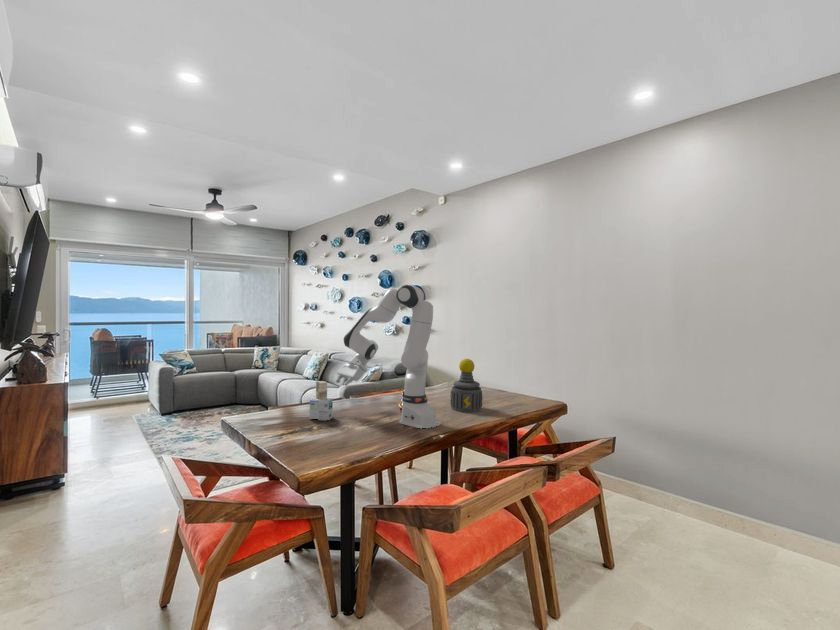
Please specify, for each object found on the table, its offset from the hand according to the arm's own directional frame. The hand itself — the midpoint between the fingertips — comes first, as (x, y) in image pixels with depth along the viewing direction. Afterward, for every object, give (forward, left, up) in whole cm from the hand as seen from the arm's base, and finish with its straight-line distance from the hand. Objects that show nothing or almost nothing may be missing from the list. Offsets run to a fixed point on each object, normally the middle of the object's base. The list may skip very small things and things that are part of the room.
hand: (340, 383), depth 230 cm
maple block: (0, +11, -7) cm, 13 cm away
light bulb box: (0, +11, -18) cm, 21 cm away
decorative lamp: (-28, -69, -18) cm, 76 cm away
